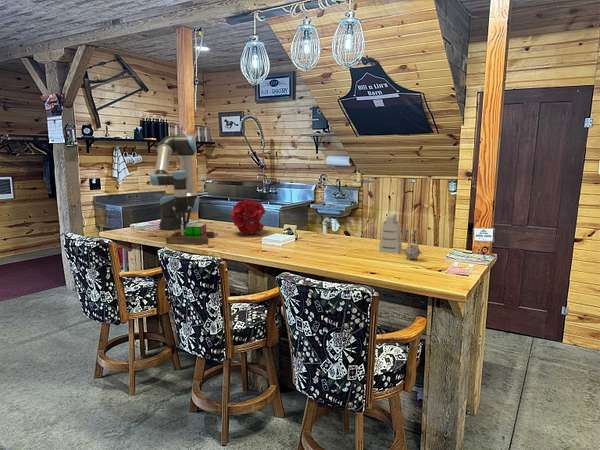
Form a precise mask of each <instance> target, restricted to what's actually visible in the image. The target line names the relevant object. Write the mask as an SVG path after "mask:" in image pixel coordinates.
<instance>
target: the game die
mask: <svg viewBox="0 0 600 450" xmlns="http://www.w3.org/2000/svg"><path fill="white" fill-rule="evenodd" d="M402 251H403V252H404V254H405V256H406V259H407V260H408V259H411V260H415V261H418V257H419V255H421V254H422V252H421V251H420V248H419V243H418V244H411V243H409V242H408V243H407V246H406V247H405V249H402ZM406 259H405V260H406Z"/></svg>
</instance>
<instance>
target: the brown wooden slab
mask: <svg viewBox="0 0 600 450" xmlns="http://www.w3.org/2000/svg"><path fill="white" fill-rule="evenodd" d="M206 233H207V237H186V236H185V235H186V234H185V235H181V231H174V232H172V233H171V234H170V235H168V236H167V237H166V238H165V242H166V243H165V244H166V246H168V245H167V244H189V245H209V239H215V237H214V233H215V231H206Z"/></svg>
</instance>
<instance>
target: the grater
mask: <svg viewBox="0 0 600 450" xmlns="http://www.w3.org/2000/svg"><path fill="white" fill-rule="evenodd" d="M401 235H402V234H401V224H400V221H397V214H396V213H388V214H386V220H385V221H384V222H382V227H381V234H380V240H379V248H378V252H379V253H385V252H387V254H396V253H398V254H399V253H401V251H403V244H402V236H401Z"/></svg>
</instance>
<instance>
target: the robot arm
mask: <svg viewBox="0 0 600 450" xmlns="http://www.w3.org/2000/svg"><path fill="white" fill-rule="evenodd" d="M197 152H198V151H197V144H196V140H195V137H194V136H193V135H185V134H183V135H180V134H179V135H177V134H176V135H173V134H172V135H168V136H165V137H164V138H162V139H161V141H159V143H158V145H157V148H156V153H157V158H156V164H155V170H154V173H151V174H150V175H149V179H150V180H149V181H150V185H151V186H153V187H154V186H156V187H159V186H162V187H163V186H173V194H171V195H170V194H169V195H165V196H162V197H160V199H159V205H160V221H159V226H158V229H159V230H161V231H174V230H175V231H176V230H179V231H180V232H181V235H185V226H187V224H189V223H190V220H191V219H190V218H191V214H196V213H198V212H199V205H200V196H199V195H197V192H196V190H195V177H194V162H193V161H194V160H193V158H194V156H195V155H196V153H197ZM175 153H176V154H177V157H179V165H180V170H178V169H177V170H173V172H170V173H169V166H170V159H171V157H170V156H171V155H172V154H175ZM186 214H187V215H186Z"/></svg>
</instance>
